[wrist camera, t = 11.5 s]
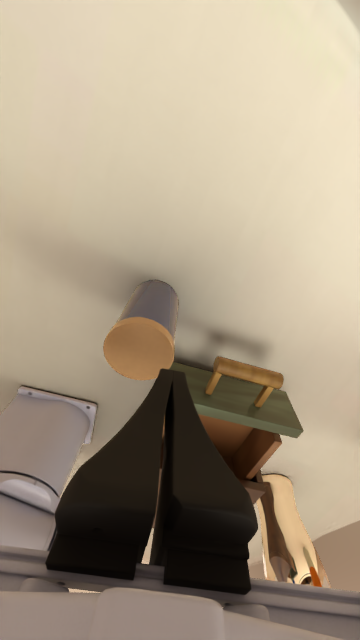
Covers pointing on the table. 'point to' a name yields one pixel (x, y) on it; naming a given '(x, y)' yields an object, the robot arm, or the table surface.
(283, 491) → the beer glass
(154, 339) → the jar
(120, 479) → the robot arm
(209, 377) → the drawer
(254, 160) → the table surface
